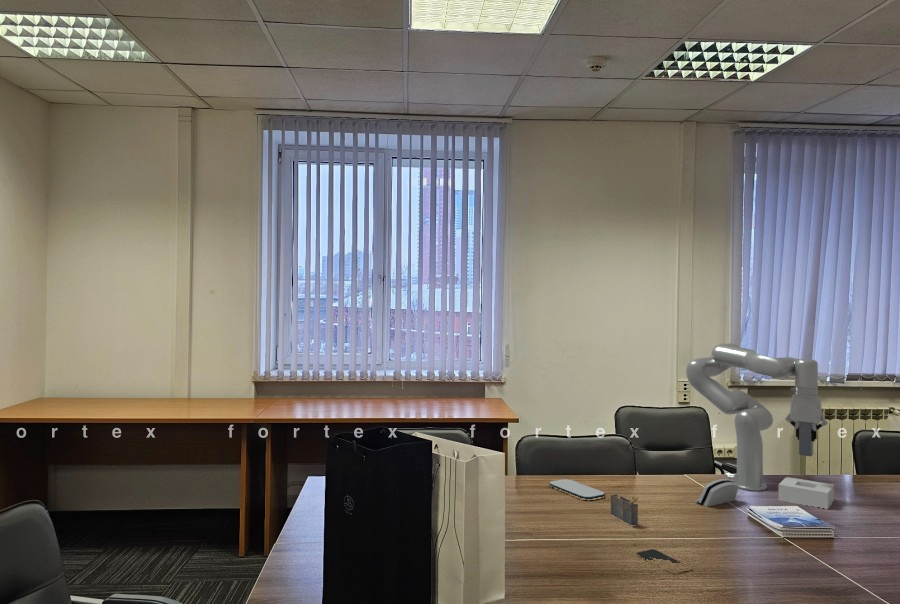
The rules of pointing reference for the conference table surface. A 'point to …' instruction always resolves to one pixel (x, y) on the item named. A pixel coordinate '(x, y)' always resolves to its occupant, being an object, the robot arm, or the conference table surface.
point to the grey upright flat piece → (625, 509)
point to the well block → (806, 492)
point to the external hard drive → (577, 489)
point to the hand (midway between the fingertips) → (806, 439)
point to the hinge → (718, 492)
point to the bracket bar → (805, 439)
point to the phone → (656, 555)
